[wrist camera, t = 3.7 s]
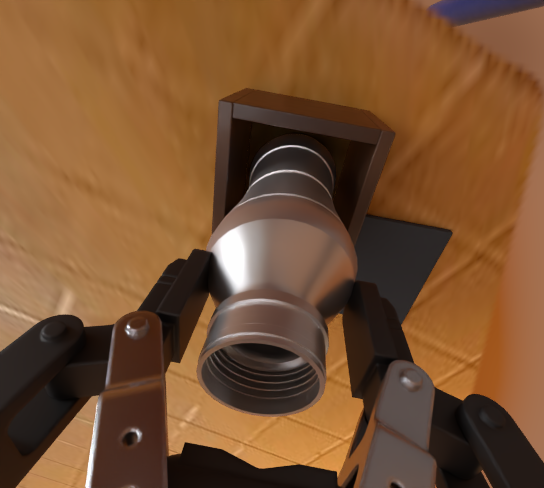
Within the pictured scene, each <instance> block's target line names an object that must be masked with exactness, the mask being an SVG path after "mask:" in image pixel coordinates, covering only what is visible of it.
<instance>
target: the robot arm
mask: <svg viewBox="0 0 544 488" xmlns="http://www.w3.org/2000/svg"><path fill="white" fill-rule="evenodd" d="M211 255H212V252H209V251H204V250H199V249H194V250H193V251H192V253H191V254H190V256H189V258H188V259H187V260H185V259H177V260H176V261H174V262H172V263H171V264H169V265H168V266H167V268H166V269H165V271H164V272H163V274H162V276H161V277H160V278H159V280H158V281H157V283H156V284H155V285H154V287H153V288H152V290H151V291H150V293H149V294H148V296H147V297H146V299H145V300H144V302H143V303H142V304H141V306H140V307H139V309H138V310H137V311H135V312H131V313H129V314H126V315H124V316H123V317H121V318H120V319H119V320H118V321H117V322H116V323H115V324H113V325H105V326H92V327H84V325H83V322H82V321H81V319H79V318H78V317H76V316H73V315H57V316H53V317H50V318H47V319H45V320H42V321H41V322H39V323H37V324H36V325H34V326H33V327H32V328H31V329H29V330H28V331H27V332H25V333H24V334H23V335H22V336H20V337H19V338H18V339H16V340H15V341H14V342H12V343H11V344H10V345H9V346H7V347H6V348H5V349H3V350H2V351H1V352H0V488H16V486H17V485H18V484H19V483H20V482H21V480H22V479H23V478H24V477H25V476H26V474H27V473H28V472H29V471H30V470H31V468H32V467H33V466H34V465H35V464H36V462H37V461H38V460H39V459H40V458H41V456H42V455H43V454H44V453H45V452H46V450H47V449H48V448H49V447H50V446H51V444H52V443H53V442H54V441H55V440H56V438H57V437H58V436H59V435H60V434H61V432H62V431H63V430H64V429H65V428H66V426H67V425H68V424H69V423H70V422H71V420H72V419H73V418H74V417H75V416H76V414H77V413H78V412H79V411H80V410H81V408H82V407H83V406H84V405H85V404H86V402H87V401H88V400H89V399H90V398H91V396H96V395H99V397H98V403H97V409H96V416H95V423H94V430H93V437H92V444H91V451H90V458H89V465H88V472H87V479H86V486H85V488H435V484H436V487H437V488H490V487H489V485H488V483H487V482H486V480H485V478H484V476H483V474H482V472H481V471H482V470H483V471H484V473H485V474H486V476H487V478H488V480H489V482H490V484H491V485H492V487H493V488H544V463H543V461H542V460H541V458H540V457H539V456H538V454H537V453H536V452H535V450H534V448H533V447H532V446H531V444H530V443H529V441H528V440H527V438H526V437H525V436H524V434H523V433H522V431H521V430H520V429H519V428H518V426H517V424H516V423H515V421H514V420H513V419H512V417H511V416H510V415H509V414H508V412H506V410H505V409H504V408H502V407H501V406H500V405H499V404H498V403H496V402H495V401H493V400H491V399H490V398H488V397H485V396H482V395H479V394H471V395H469V396H467V397H466V398H465V399H464V400H463V401H462V400H460V399H458V398H456V397H454V396H452V395H449V394H447V393H445V392H443V391H441V390H439V389H437V388H436V387H434V385H433V382H432V380H431V379H430V377H429V376H428V375H427V373H426V372H425V371H424V370H423V369H421V368H420V367H419V366H417V365H416V364H414V361H413V358H412V355H411V353H410V350H409V347H408V344H407V341H406V338H405V335H404V332H403V331H402V327H401V324H400V322H399V318H398V315H397V312H396V309H395V308H394V307H393V305H392V304H391V303H390V302H389V300H388V299H387V298H382V297H380V295H379V291H378V288H377V285H376V284H375V283H370V282H365V281H360V280H356V281H355V282H354V286H353V290H352V293H351V296H350V298H349V300H348V302H347V304H346V305H345V307H344V311H343V329H344V337H345V345H346V353H347V360H348V368H349V376H350V384H351V392H352V397H354V398H360V399H363V403H364V408H363V410H362V412H361V414H360V417H359V420H358V423H357V426H356V429H355V432H354V435H353V438H352V441H351V444H350V447H349V450H348V453H347V456H346V459H345V462H344V464H343V467H342V469H341V471H340V473H339V476H338V478H337V472H336V471H331V470H325V469H320V468H315V467H310V466H305V465H300V464H299V465H291V466H282V467H274V468H266V469H259V468H256V467H254V466H252V465H250V464H249V463H247V462H245V461H243V460H241V459H239V458H237V457H235V456H234V455H232V454H230V453H228V452H226V451H224V450H222V449H217V448H212V447H207V446H202V445H197V444H192V443H186V442H185V444H184V447H183V450H182V453H181V454H176V455H171V456H169V445H168V426H167V403H166V380H165V373H166V371H167V369H168V367H169V365H170V362H176V363H180V362H181V359H182V357H183V355H184V352H185V350H186V348H187V345H188V343H189V340H190V338H191V336H192V333H193V331H194V329H195V326H196V324H197V322H198V319H199V317H200V315H201V312H202V310H203V307H204V305H205V303H206V300H207V298H208V296H209V293H210V292H209V289H208V276H209V267H210V261H211Z"/></svg>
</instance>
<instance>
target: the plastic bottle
mask: <svg viewBox="0 0 544 488" xmlns="http://www.w3.org/2000/svg"><path fill="white" fill-rule="evenodd" d="M335 180H336V167H335V163H334V160H333V158H332V156H331V154H330V152H329V151H328V150H327V149H326V148H325V146H324V145H322V144H321V143H320V142H318V141H317V140H315V139H314V138H312V137H309V136H307V135H303V134H285V135H282V136H279V137H276V138H274V139H272V140H271V141H269V142H267V143H266V144H265V145H264V146H263V147H262V148H260V150H259V151H258V152H257V154H256V155H255V157H254V159H253V161H252V164H251V169H250V175H249V189H248V191H247V193H246V194H245V196H244V197H243V199H242V200H241V201H240V202H239V203H238V204H237V205H236V206H235V207H234V208H233V209H232V210H231V211H230V212H229V213H228V215H226V216H225V218H224V219H223V220H222V222H221V223H220V224H219V226H218V227H217V229H216V230H215V231H214V233H213V234H212V235H211V238H210V240H209V243H208V245H207V249H206V251H209V252H212V255H211V261H210V267H209V276H208V289H209V292H210V295H211V297H212V300H213V302H214V305H215V307H216V309H215V311H214V313H213V315H212V317H211V320H210V322H209V325H208V330H207V339H206V341H205V344H204V346H203V348H202V351H201V353H200V356H199V360H198V365H197V378H198V380H199V382H200V385H201V386H202V388H203V389H204V390H205V391H206V393H208V394H209V395H210V396H211V397H212V398H213V399H215V400H216V401H218V402H219V403H221V404H223V405H225V406H227V407H229V408H231V409H234V410H237V411H239V412H242V413H247V414H251V415H258V416H272V417H276V416H287V415H291V414H296V413H299V412H302V411H304V410H306V409H308V408H310V407H312V406H313V405H314V404H315V403H317V402H318V401H319V400H320V398H321V396H322V395H323V393H324V389H325V383H326V354H327V351H328V347H329V340H328V327H327V325H328V324H329V323H330V322H331V321H332V320H333V319H334V318H335V317H336V316H337V315H338V313H339V312H340V311H341V310H342V309H343V308H344V307H345V305H346V304H347V302H348V300H349V298H350V296H351V293H352V290H353V286H354V282H355V279H356V274H357V270H358V268H357V255H356V252H355V248H354V245H353V243H352V240H351V237H350V235H349V233H348V231H347V230H346V228H345V226H344V224H343V223H342V221H341V219H340V218H339V216H338V214H337V212H336V211H335V208H334V204H333V201H332V194H333V191H334V187H335Z"/></svg>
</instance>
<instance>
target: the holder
mask: <svg viewBox="0 0 544 488" xmlns="http://www.w3.org/2000/svg"><path fill="white" fill-rule="evenodd" d="M252 122H256V123H261V124H267V125H272V126H278V127H283V128H288V129H294V130H299V131H304V132H310V133H315V134H320V135H326V136H331V137H337V138H342V139H347V140H351V141H350V145H349V148H348V152H347V155H346V158H345V162H344V165H343V169H342V172H341V176H340V179H339V182H338V186H337V189H336V193H335V196H334V200H333V204H334V208H335V211H336V212H337V214H338V216H339V218H340V219H341V221H342V223H343V224H344V226H345V228H346V230H347V231H348V233H349V235H350V237H351V240H352V243H353V245H354V246H355V244H356V241H357V238H358V235H359V233H360V230H361V227H362V224H363V222H364V219H365V216H366V213H367V211H368V208H369V205H370V203H371V200H372V197H373V194H374V192H375V189H376V186H377V183H378V181H379V178H380V175H381V172H382V170H383V167H384V164H385V162H386V159H387V156H388V153H389V151H390V148H391V145H392V142H393V140H394V137H395V132H394V131H393V130H391V129H390V128H389V127H388V126H387V125H385V124H384V123H383V122H382V121H381V120H379V119H378V118H377V117H376V116H375V115H373V114H372V113H371V112H370V111H367V110H362V109H361V110H360V109H357V108H351V107H346V106H340V105H335V104H330V103H324V102H319V101H313V100H308V99H303V98H297V97H292V96H287V95H281V94H276V93H270V92H265V91H260V90H254V89H249V88H245V89H243V90H241V91H239V92H236V93H234V94H232V95H230V96H227V97H225V98H223V99H221V100H219V107H218V126H217V145H216V164H215V183H214V202H213V221H212V234H213V233H214V231H215V230H216V229H217V227H218V226H219V224H220V223H221V222H222V220H223V219H224V218H225V216H226V215H228V213H229V212H230V211H231V210H232V209H233V208H234V207H235V206H236V205H237V204H238V203H239V202H240V201H241V200H242V199H243V197H244V190H245V181H246V172H247V163H248V154H249V145H250V136H251V127H252Z"/></svg>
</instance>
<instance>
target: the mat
mask: <svg viewBox="0 0 544 488" xmlns="http://www.w3.org/2000/svg"><path fill="white" fill-rule="evenodd" d="M452 234H453V233H452V231H451V230H447V229H442V228H437V227H431V226H426V225H421V224H415V223H410V222H405V221H400V220H394V219H389V218H384V217H378V216H373V215H368V214H366V216H365V219H364V222H363V224H362V227H361V230H360V233H359V235H358V238H357V241H356V244H355V246H354V248H355V252H356V255H357V268H358V270H357V274H356V279H355V281H356V280H360V281H365V282H370V283H375V284H376V285H377V288H378V291H379V295H380V297H382V298H387V299H388V300H389V302H390V303H391V304H392V305H393V307H394V308H395V309H396V312H397V315H398V318H399V322H400V324H402V322H403V321H404V319H405V317H406V315H407V314H408V312H409V310H410V308H411V306H412V305H413V303H414V301H415V299H416V298H417V296H418V294H419V292H420V291H421V289H422V287H423V285H424V283H425V282H426V280H427V278H428V276H429V275H430V273H431V271H432V269H433V267H434V266H435V264H436V262H437V260H438V259H439V257H440V255H441V253H442V252H443V250H444V248H445V246H446V244H447V243H448V241H449V239H450V237H451V236H452ZM343 311H344V308H343V309H342V310H341V311H340V312H339V313H340V314H343Z"/></svg>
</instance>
